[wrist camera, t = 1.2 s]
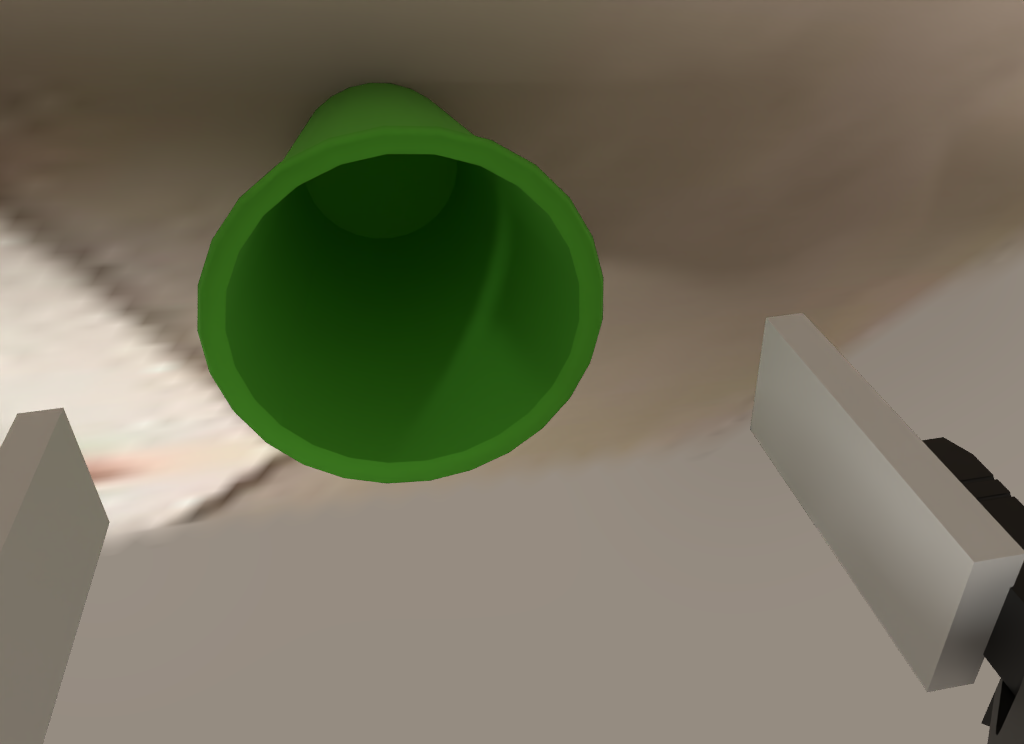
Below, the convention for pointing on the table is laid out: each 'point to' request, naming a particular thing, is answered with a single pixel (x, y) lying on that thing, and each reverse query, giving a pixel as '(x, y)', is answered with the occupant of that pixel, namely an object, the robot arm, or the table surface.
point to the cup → (399, 294)
